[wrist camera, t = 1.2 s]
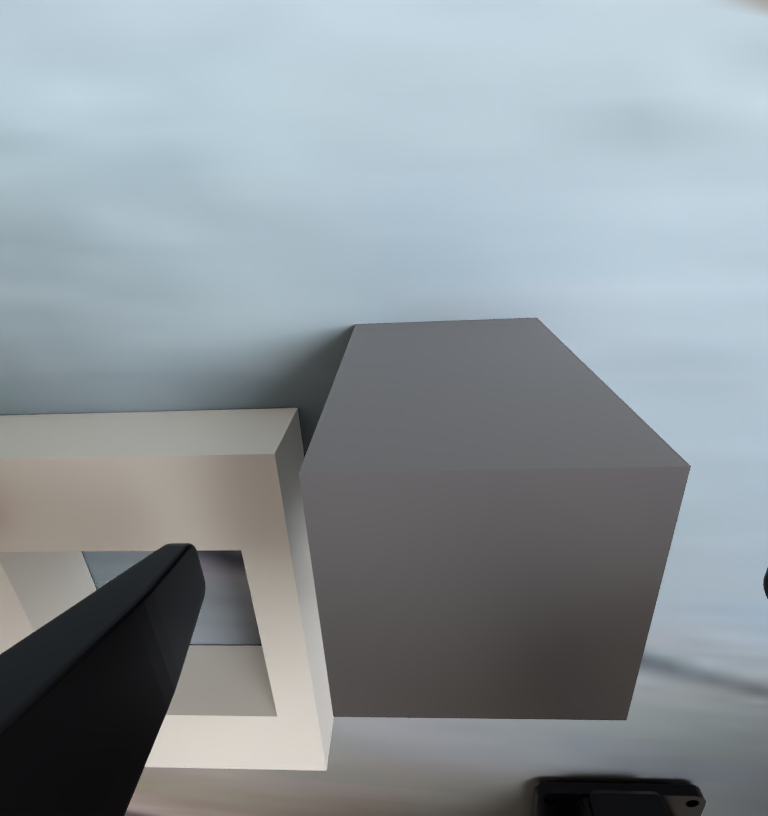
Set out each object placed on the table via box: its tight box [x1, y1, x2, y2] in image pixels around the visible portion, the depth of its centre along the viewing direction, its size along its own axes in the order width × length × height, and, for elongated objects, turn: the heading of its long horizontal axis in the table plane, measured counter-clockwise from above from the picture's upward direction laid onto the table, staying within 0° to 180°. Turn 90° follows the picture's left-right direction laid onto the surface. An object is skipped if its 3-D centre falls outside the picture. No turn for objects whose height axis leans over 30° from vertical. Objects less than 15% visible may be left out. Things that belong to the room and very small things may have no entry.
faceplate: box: [0, 408, 334, 771], centre depth 14 cm, size 12×18×3 cm, turn 93°
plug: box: [299, 318, 691, 720], centre depth 10 cm, size 4×4×7 cm
